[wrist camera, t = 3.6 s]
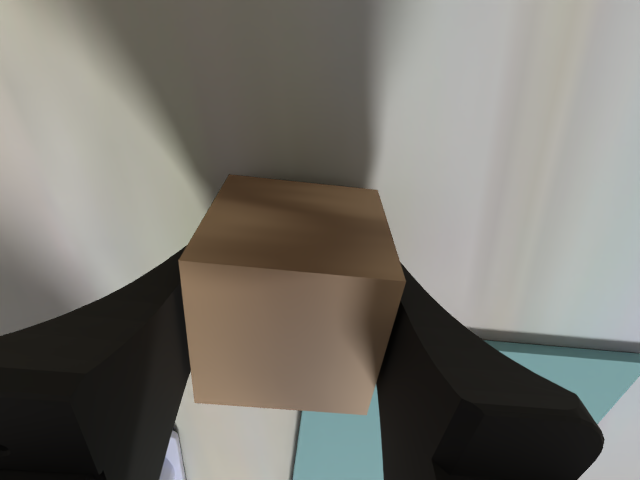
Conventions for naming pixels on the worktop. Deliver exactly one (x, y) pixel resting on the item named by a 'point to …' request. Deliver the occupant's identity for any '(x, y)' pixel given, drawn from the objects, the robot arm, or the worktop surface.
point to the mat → (547, 361)
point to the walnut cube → (290, 296)
